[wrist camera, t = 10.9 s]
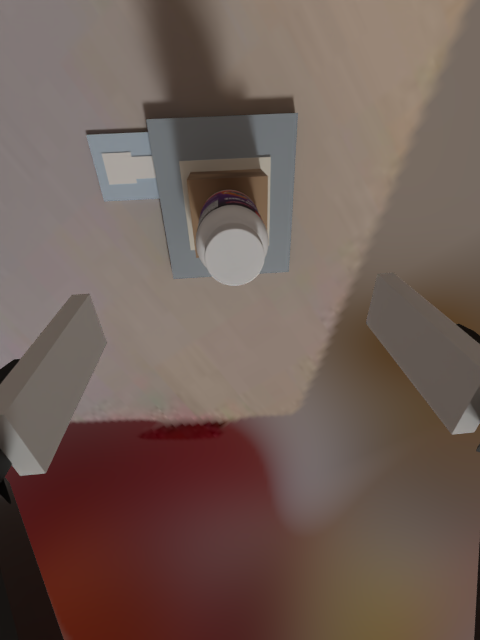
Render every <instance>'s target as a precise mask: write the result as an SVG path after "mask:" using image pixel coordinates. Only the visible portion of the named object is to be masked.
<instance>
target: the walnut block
mask: <svg viewBox="0 0 480 640" xmlns="http://www.w3.org/2000/svg"><path fill="white" fill-rule="evenodd" d="M187 187H188V196H189V204H190V212H191V220H192V228H193V236H194V245H195V253H196V258H199V256H198V253H197V249H196V233H197V228H198V223H199V218H200V213H201V210H202V207H203V205H204V204H205V202H206V201H207V200H208V198H210V197H211V196H212V195H213V194H215V193H217V192H219V191H222V190H236V191H239V192H241V193H243V194H245V195H246V196H248V197H249V198H250V199H251V200H252V201H253V203H254V204H255V206H256V208H257V210H258V212H259V214H260V216H261V218H262V220H263V222H264V224H265V227H266V229H267V212H268V176H267V175H266V174H265V173H264V172H263V171H262V170H261V169H246V170H225V171H205V172H190V174H189V176H188V178H187Z"/></svg>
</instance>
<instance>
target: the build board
mask: <svg viewBox="0 0 480 640" xmlns="http://www.w3.org/2000/svg"><path fill="white" fill-rule="evenodd" d="M297 120H298V113H284V114H260V115H236V116H213V117H189V118H166V119H146V122H147V128H148V133H149V139H150V145H151V151H152V157H153V162H154V168H155V174H156V180H157V185H158V191H159V197H160V203H161V209H162V214H163V220H164V226H165V232H166V238H167V243H168V249H169V255H170V261H171V267H172V272H173V278H174V279H181V278H197V277H212V276H211V274H210V273H209V272H208V270H207V268H206V267H205V266H204V265H203V263H202V262H201V260H200V258H196V253H195V245H194V236H193V228H192V220H191V212H190V204H189V196H188V187H187V178H188V176H189V174H190V172H205V171H225V170H246V169H261V170H262V171H263V172H264V173H265V174H266V175H267V176H268V212H267V233H268V239H269V244H268V251H267V254H266V257H265V260H264V265H263V267H262V269H261V271H260V273H259V274H261V273H277V272H289V260H290V242H291V225H292V207H293V190H294V172H295V155H296V137H297Z"/></svg>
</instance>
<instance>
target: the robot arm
mask: <svg viewBox="0 0 480 640" xmlns="http://www.w3.org/2000/svg"><path fill="white" fill-rule="evenodd" d="M366 324H367V325H368V326H369V328H370V329H371V330H372V331H373V333H374V334H375V335H376V337H377V338H378V339H379V341H380V342H381V343H382V344H383V345H384V347H385V348H386V350H387V351H388V352H389V354H390V355H391V356H392V357H393V359H394V360H395V361H396V363H397V364H398V365H399V367H400V368H401V369H402V370H403V372H404V373H405V374H406V376H407V377H408V378H409V379H410V381H411V382H412V383H413V385H414V386H415V387H416V389H417V390H418V391H419V393H420V394H421V395H422V396H423V398H424V399H425V400H426V402H427V403H428V404H429V406H430V407H431V408H432V409H433V411H434V412H435V413H436V415H437V416H438V417H439V418H440V420H441V421H442V422H443V424H444V425H445V426H446V428H447V429H448V430H449V432H450V433H451V434H461V433H471V432H474V431H475V430H476V428H477V426H478V425H479V423H480V336H479V335H478V334H477V333H476V332H474V331H473V330H471V329H468V328H466V327H464V326H462V325H460V324H455V323H453V322H452V321H451V320H450V319H449V318H448V317H446V316H445V315H444V314H443V313H441V312H440V311H439V310H438V309H437V308H435V307H434V306H433V305H432V304H430V303H429V302H428V301H427V300H426V299H425V298H423V297H422V296H421V295H420V294H419V293H417V292H416V291H415V290H414V289H412V288H411V287H410V286H409V285H408V284H406V283H405V282H404V281H403V280H402V279H400V278H399V277H398V276H397V275H396V274H394V273H385V274H378V275H377V278H376V283H375V287H374V291H373V295H372V300H371V304H370V308H369V312H368V317H367V321H366ZM106 344H107V341H106V339H105V336H104V333H103V330H102V327H101V324H100V322H99V319H98V316H97V313H96V310H95V307H94V305H93V302H92V299H91V296H90V294H78V295H72V296H71V297H70V298H69V299H68V301H67V302H66V303H65V304H64V306H63V307H62V308H61V309H60V311H59V312H58V313H57V314H56V315H55V317H54V318H53V319H52V320H51V322H50V323H49V324H48V325H47V327H46V328H45V329H44V330H43V332H42V333H41V334H40V335H39V337H38V338H37V339H36V340H35V342H34V343H33V344H32V345H31V347H30V348H29V349H28V350H27V352H26V353H25V354H24V355H23V357H22V358H21V359H15V360H13V361H11V362H10V363H8V364H7V365H6V366H4V367H3V368H1V369H0V640H64V639H63V636H62V633H61V630H60V627H59V625H58V622H57V619H56V616H55V613H54V610H53V607H52V604H51V601H50V599H49V596H48V593H47V590H46V587H45V584H44V581H43V578H42V576H41V573H40V570H39V567H38V564H37V561H36V558H35V555H34V552H33V549H32V547H31V544H30V541H29V538H28V535H27V532H26V529H25V526H24V524H23V521H22V518H21V515H20V512H19V509H18V506H17V503H16V500H15V497H14V495H13V492H12V489H11V486H10V483H9V482H8V481H7V479H6V478H5V475H6V474H7V472H8V470H9V469H10V467H11V465H12V466H13V467H14V468H15V470H16V471H17V472H18V473H19V475H20V476H21V475H32V474H43V473H46V471H47V469H48V467H49V465H50V463H51V461H52V459H53V456H54V454H55V452H56V450H57V448H58V446H59V444H60V442H61V439H62V437H63V435H64V433H65V431H66V429H67V427H68V425H69V422H70V420H71V418H72V416H73V414H74V412H75V410H76V408H77V405H78V403H79V401H80V399H81V397H82V395H83V393H84V391H85V388H86V386H87V384H88V382H89V380H90V378H91V376H92V374H93V371H94V369H95V367H96V365H97V363H98V361H99V359H100V357H101V355H102V352H103V350H104V348H105V346H106ZM476 451H478V452H480V444H479V446H478V447H477V450H476ZM477 582H478V583H477V600H476V617H475V636H474V640H480V544H479V563H478V581H477Z"/></svg>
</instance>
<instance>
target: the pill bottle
mask: <svg viewBox="0 0 480 640" xmlns="http://www.w3.org/2000/svg"><path fill="white" fill-rule="evenodd" d="M268 244H269V239H268V233H267V229H266V227H265V224H264V222H263V220H262V218H261V216H260V214H259V212H258V210H257V208H256V206H255V204H254V203H253V201H252V200H251V199H250V198H249V197H248V196H246V195H245V194H243V193H241V192H239V191H236V190H222V191H219V192H217V193H215V194H213V195H212V196H211V197H210V198H208V200H207V201H206V202H205V204H204V205H203V207H202V210H201V213H200V218H199V223H198V228H197V233H196V249H197V253H198V256H199V258H200V260H201V262H202V263H203V265H204V266H205V267H206V268H207V270H208V272H209V273H210V274H211V276H212V277H213V278H214V279H216V280H217V281H218V282H220V283H223V284H225V285H230V286H238V285H243V284H246V283H248V282H250V281H252V280H253V279H254V278H255V277H256V276H257V275H258V274H259V273H260V271H261V269H262V267H263V265H264V260H265V257H266V254H267V251H268Z"/></svg>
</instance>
